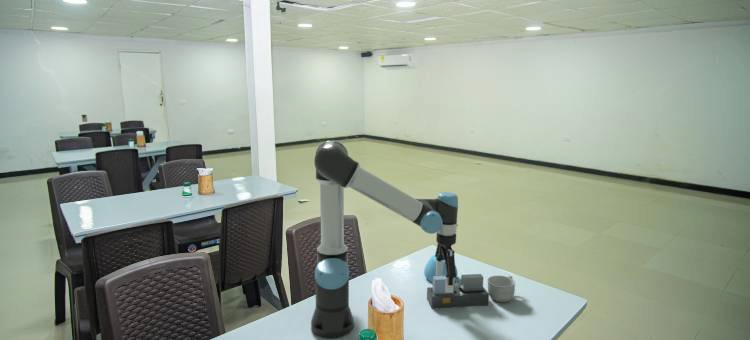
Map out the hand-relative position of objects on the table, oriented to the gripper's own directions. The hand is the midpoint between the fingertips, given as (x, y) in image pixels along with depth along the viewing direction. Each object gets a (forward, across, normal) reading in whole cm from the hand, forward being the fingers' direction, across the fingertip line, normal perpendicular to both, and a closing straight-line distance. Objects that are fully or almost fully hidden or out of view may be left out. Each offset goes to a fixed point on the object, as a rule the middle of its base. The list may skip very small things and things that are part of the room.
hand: (444, 283), depth 162 cm
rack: (+8, 0, -6) cm, 10 cm away
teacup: (+8, +2, -26) cm, 27 cm away
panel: (+7, 0, 0) cm, 7 cm away
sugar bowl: (+8, +22, -5) cm, 24 cm away
